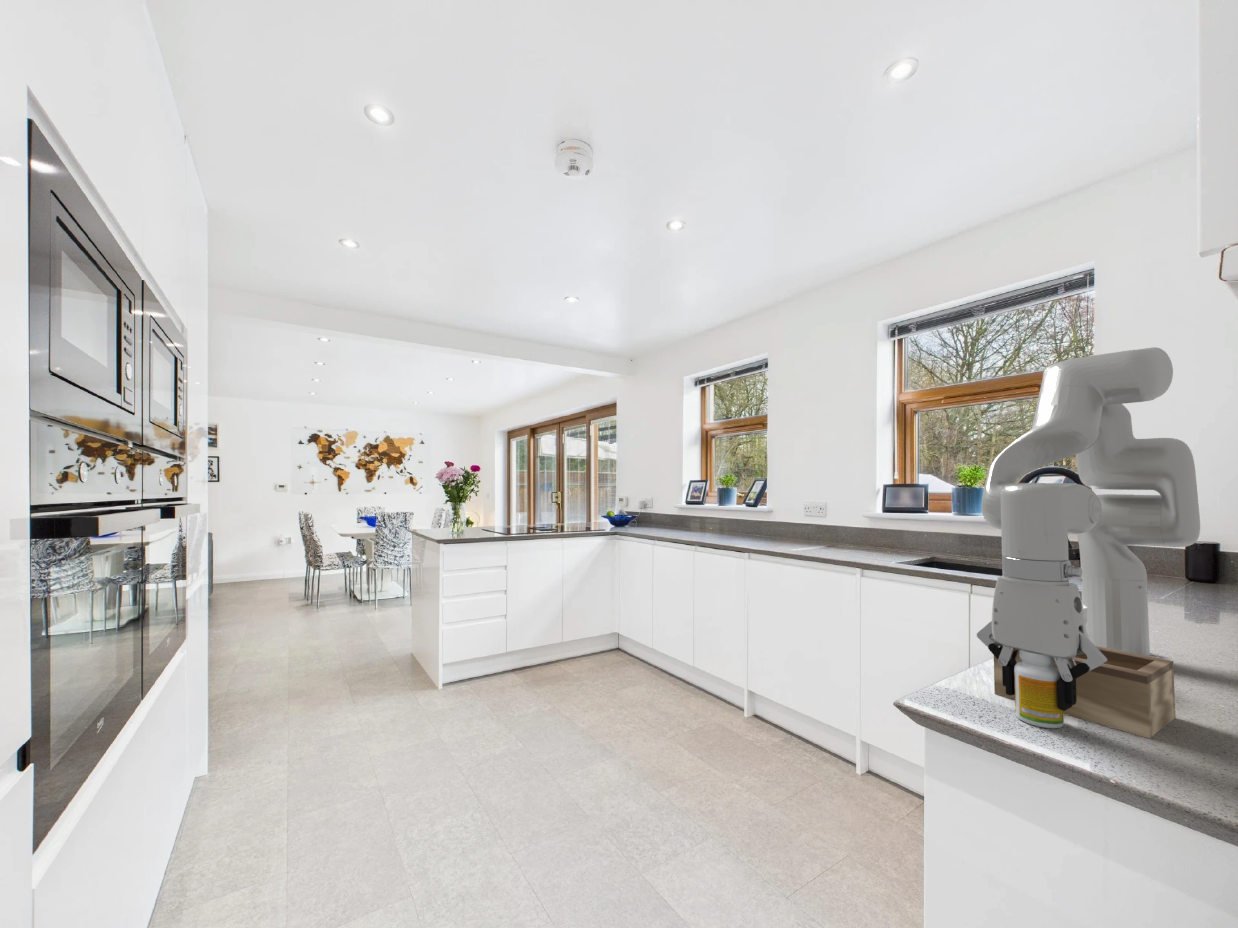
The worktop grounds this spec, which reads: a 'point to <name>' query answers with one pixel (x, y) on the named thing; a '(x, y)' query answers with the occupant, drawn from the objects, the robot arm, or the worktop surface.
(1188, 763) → the worktop surface
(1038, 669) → the supplement bottle
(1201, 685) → the worktop surface
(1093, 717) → the wooden box
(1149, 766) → the worktop surface
